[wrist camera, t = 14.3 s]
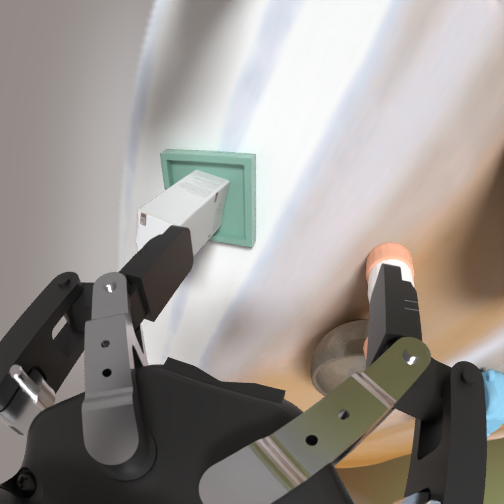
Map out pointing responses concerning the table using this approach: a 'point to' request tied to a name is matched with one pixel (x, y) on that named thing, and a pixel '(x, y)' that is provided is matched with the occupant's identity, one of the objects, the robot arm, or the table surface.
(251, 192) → the tray
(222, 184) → the skincare box
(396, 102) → the table surface
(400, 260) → the salt shaker
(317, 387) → the bowl
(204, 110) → the table surface
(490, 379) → the teapot
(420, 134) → the table surface
